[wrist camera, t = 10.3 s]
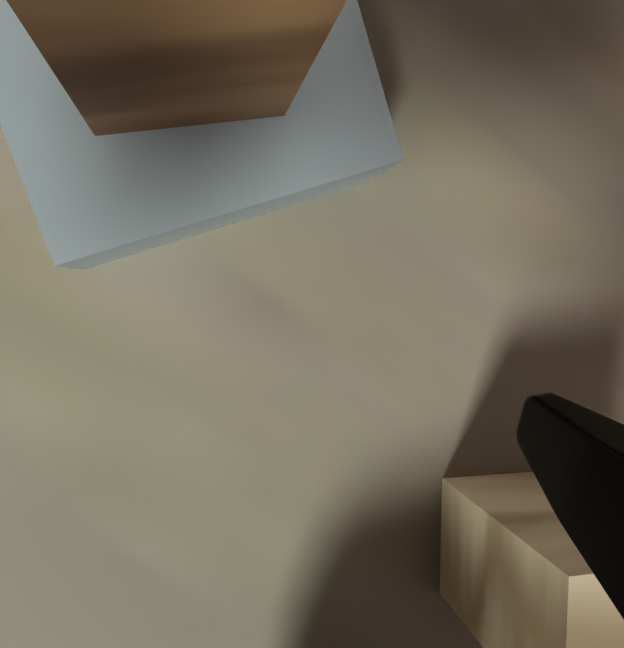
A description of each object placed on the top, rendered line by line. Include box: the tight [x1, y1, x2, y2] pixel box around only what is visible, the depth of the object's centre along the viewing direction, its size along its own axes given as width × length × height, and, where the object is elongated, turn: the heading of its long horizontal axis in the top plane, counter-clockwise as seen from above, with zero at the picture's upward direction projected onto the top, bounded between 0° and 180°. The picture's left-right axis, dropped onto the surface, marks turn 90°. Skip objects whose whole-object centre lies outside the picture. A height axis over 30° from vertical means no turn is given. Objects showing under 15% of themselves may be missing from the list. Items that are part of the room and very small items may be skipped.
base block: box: [0, 0, 403, 270], centre depth 18 cm, size 11×11×4 cm
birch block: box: [439, 472, 624, 648], centre depth 20 cm, size 5×5×8 cm
